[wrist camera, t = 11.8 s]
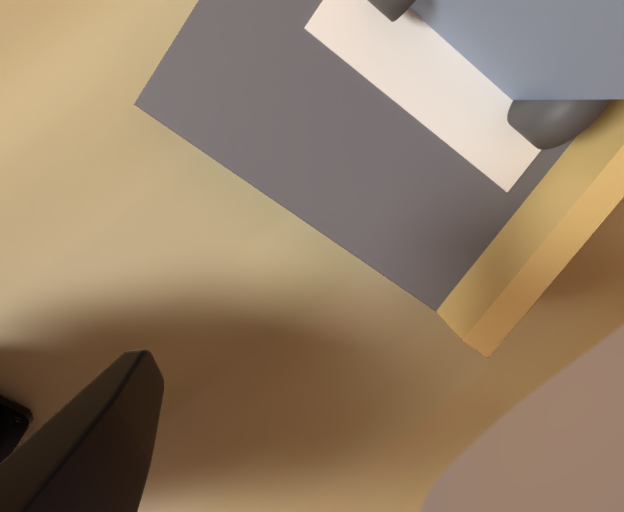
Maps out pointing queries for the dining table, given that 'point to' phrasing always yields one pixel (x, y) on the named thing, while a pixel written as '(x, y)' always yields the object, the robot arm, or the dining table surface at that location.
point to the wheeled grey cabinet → (536, 56)
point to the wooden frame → (390, 150)
